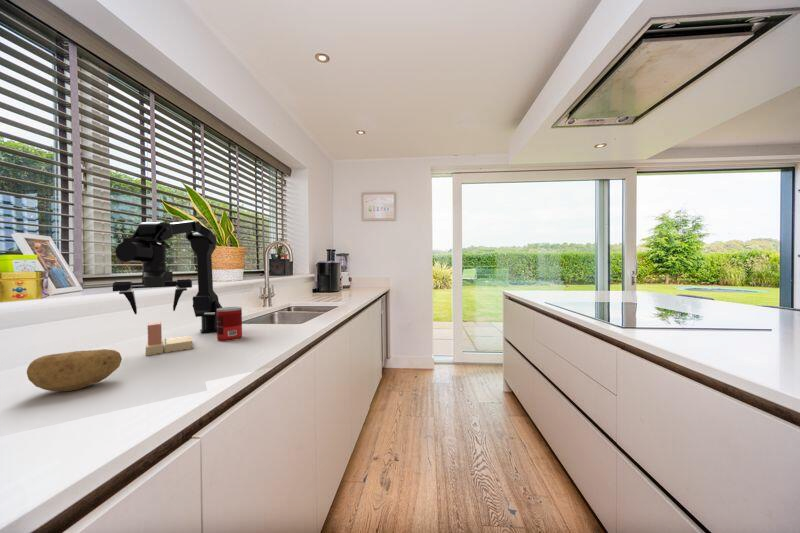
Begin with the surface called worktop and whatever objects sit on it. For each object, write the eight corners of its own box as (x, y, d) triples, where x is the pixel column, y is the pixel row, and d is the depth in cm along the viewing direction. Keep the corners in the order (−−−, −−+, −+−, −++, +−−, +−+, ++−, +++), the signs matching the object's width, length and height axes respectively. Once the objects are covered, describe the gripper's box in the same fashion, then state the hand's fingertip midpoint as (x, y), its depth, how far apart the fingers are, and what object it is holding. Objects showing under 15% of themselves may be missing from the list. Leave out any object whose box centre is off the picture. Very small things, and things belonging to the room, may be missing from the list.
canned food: (246, 336, 111) (246, 306, 111) (232, 341, 103) (232, 309, 103) (227, 336, 112) (226, 306, 112) (212, 341, 104) (211, 309, 104)
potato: (119, 386, 64) (118, 349, 64) (17, 405, 56) (16, 363, 56) (125, 374, 72) (125, 341, 72) (37, 389, 64) (36, 352, 64)
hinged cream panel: (164, 346, 98) (164, 338, 98) (190, 342, 103) (190, 334, 103) (164, 352, 90) (164, 344, 90) (192, 348, 95) (192, 340, 95)
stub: (147, 348, 96) (147, 322, 96) (163, 346, 98) (162, 320, 98) (145, 355, 88) (145, 327, 88) (163, 352, 90) (162, 325, 90)
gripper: (109, 262, 81) (110, 319, 81) (192, 261, 93) (193, 311, 93) (114, 262, 90) (115, 314, 90) (190, 262, 101) (191, 308, 101)
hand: (155, 312), depth 93 cm, fingers open, 9 cm apart
